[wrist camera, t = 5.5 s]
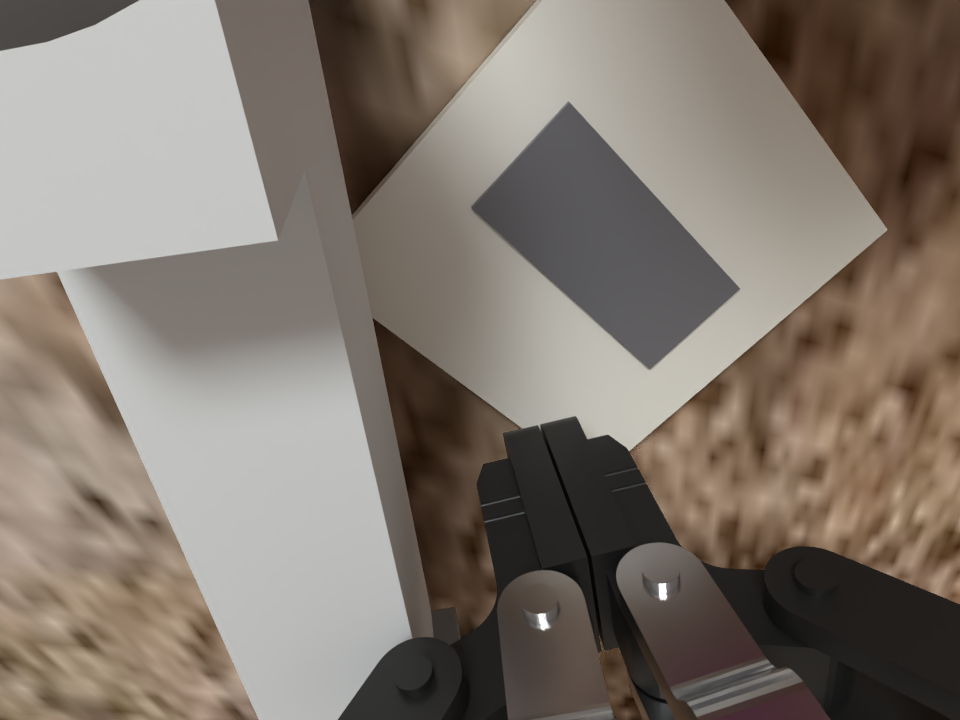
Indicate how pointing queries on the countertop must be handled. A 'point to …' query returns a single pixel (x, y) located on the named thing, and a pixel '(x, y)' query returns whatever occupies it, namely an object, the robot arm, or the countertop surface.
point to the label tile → (608, 215)
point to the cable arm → (223, 316)
